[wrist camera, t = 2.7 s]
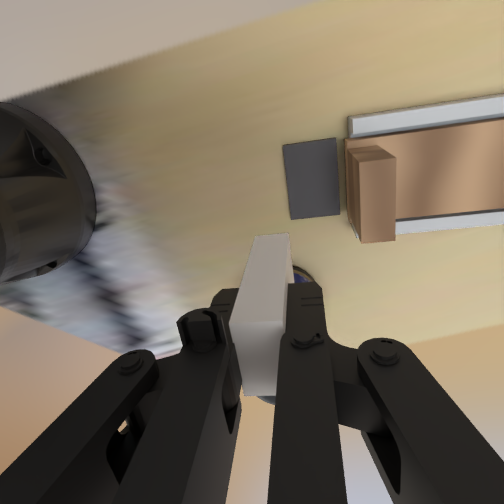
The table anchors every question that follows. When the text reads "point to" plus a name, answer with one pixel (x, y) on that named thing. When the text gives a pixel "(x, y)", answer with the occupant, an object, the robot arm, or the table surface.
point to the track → (429, 118)
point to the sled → (423, 174)
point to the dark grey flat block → (312, 178)
